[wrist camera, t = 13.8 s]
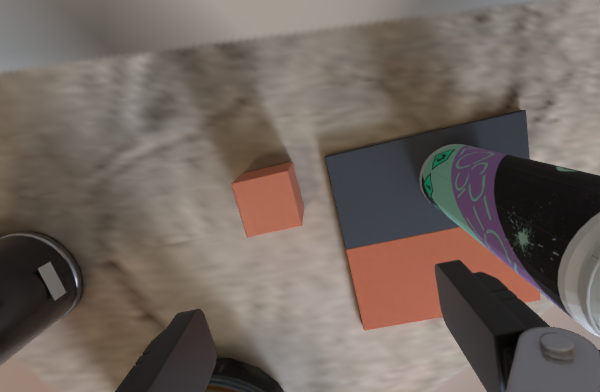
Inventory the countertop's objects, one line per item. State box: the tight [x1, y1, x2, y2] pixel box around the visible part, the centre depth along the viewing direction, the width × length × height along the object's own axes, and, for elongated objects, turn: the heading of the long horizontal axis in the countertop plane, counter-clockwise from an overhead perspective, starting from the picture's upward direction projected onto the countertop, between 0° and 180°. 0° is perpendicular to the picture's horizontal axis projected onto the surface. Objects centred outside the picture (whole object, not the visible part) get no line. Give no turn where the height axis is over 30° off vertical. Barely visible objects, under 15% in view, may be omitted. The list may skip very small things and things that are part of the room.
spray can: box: [419, 144, 600, 337], centre depth 18 cm, size 6×6×20 cm
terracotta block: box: [231, 162, 304, 237], centre depth 27 cm, size 4×4×4 cm
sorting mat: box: [325, 110, 540, 330], centre depth 29 cm, size 16×17×1 cm
